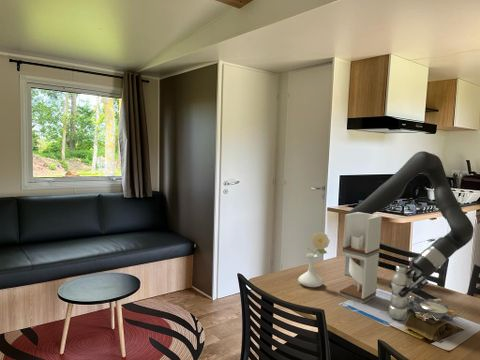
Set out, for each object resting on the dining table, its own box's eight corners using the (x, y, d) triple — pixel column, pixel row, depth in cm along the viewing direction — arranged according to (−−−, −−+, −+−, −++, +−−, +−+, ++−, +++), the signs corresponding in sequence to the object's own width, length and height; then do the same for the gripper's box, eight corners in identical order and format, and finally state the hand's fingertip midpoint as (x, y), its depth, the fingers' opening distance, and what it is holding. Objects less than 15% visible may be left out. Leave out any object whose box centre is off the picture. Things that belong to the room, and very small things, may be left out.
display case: (352, 288, 158) (358, 212, 155) (375, 296, 151) (381, 216, 148) (339, 295, 150) (345, 214, 147) (363, 303, 143) (369, 219, 140)
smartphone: (414, 286, 163) (442, 300, 149) (414, 287, 163) (442, 301, 149) (401, 287, 161) (428, 301, 147) (401, 289, 161) (428, 303, 147)
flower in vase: (295, 286, 158) (298, 232, 155) (300, 278, 168) (303, 227, 166) (324, 292, 153) (328, 235, 151) (328, 283, 163) (331, 230, 161)
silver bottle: (405, 316, 133) (410, 264, 132) (408, 324, 127) (412, 270, 125) (387, 312, 135) (391, 262, 134) (388, 320, 129) (392, 267, 127)
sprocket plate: (401, 315, 134) (402, 303, 134) (399, 296, 151) (399, 286, 151) (458, 325, 127) (459, 314, 127) (449, 305, 144) (450, 294, 144)
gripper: (411, 248, 136) (379, 277, 137) (434, 260, 122) (398, 292, 122) (423, 262, 137) (392, 290, 138) (447, 275, 123) (412, 307, 123)
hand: (395, 291), depth 130 cm, fingers closed on silver bottle, 6 cm apart
